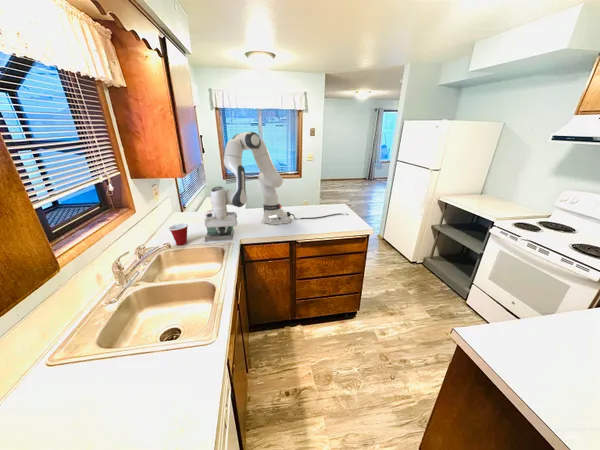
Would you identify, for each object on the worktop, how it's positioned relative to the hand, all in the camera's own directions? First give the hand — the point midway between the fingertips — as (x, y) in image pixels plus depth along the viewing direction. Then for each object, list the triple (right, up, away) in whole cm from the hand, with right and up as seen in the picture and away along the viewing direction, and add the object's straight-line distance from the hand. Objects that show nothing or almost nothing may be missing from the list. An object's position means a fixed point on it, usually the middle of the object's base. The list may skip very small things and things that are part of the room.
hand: (222, 232), depth 156 cm
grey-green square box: (-3, -2, +5) cm, 6 cm away
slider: (0, -1, 0) cm, 1 cm away
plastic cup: (-23, -7, -8) cm, 25 cm away
